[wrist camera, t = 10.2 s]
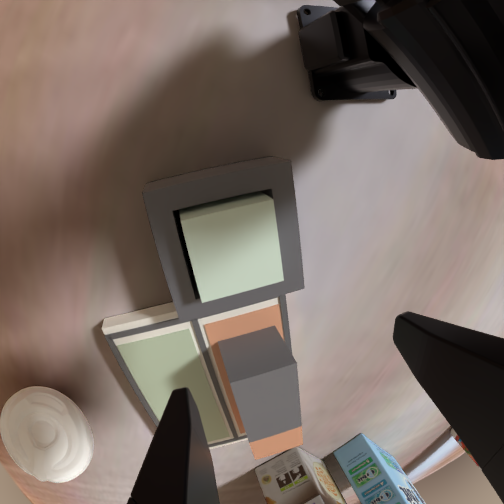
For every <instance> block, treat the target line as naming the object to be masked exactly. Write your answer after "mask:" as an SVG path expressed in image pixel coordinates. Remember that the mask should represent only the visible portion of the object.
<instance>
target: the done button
mask: <svg viewBox="0 0 504 504" xmlns="http://www.w3.org/2000/svg"><path fill="white" fill-rule="evenodd" d="M179 214H180V220H181V224H182V229H183V233H184V237H185V241H186V245H187V249H188V253H189V257H190V260H191V264H192V268H193V272H194V276H195V279H196V283H197V287H198V290H199V294H200V298H201V301H202V303H204V302H208V301H211V300H215V299H219V298H223V297H227V296H230V295H234V294H238V293H241V292H245V291H249V290H252V289H256V288H260V287H263V286H267V285H270V284H274V283H278V282H281V281H284V277H283V269H282V261H281V253H280V245H279V237H278V230H277V222H276V215H275V208H274V200H273V199H272V198H270V197H269V196H267V195H266V194H264V193H263V192H261V191H257V192H252V193H247V194H243V195H238V196H233V197H229V198H224V199H220V200H216V201H211V202H207V203H203V204H199V205H194V206H190V207H186V208H182V209H179Z"/></svg>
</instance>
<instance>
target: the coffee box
mask: <svg viewBox="0 0 504 504" xmlns="http://www.w3.org/2000/svg"><path fill="white" fill-rule="evenodd" d="M255 472H256V475H257V478H258V481H259V484H260V487H261V489H262V492H263V495H264V497H265V500H266V502H267V504H347V503H346V501H345V499H344V498H343V496H342V494H341V492H340V491H339V489H338V487H337V485H336V483H335V481H334V480H333V478H332V476H331V474H330V472H329V470H328V469H327V467H326V465H325V463H324V461H322V460H320V459H318V458H317V457H315V456H313V455H311V454H309V453H307V452H306V451H304V450H302V449H300V448H298V447H294V448H292V449H290V450H288V451H287V452H285V453H283V454H281V455H280V456H278V457H276V458H274V459H272V460H270V461H269V462H267V463H265V464H263V465H261V466H259V467H257V468H256V469H255Z"/></svg>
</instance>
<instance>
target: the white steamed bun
mask: <svg viewBox="0 0 504 504" xmlns="http://www.w3.org/2000/svg"><path fill="white" fill-rule="evenodd" d="M0 433H1V437H2V441H3V443H4V446H5V448H6V450H7V452H8V453H9V455H10V456H11V458H12V459H13V460H14V462H15V463H16V464H17V465H18V466H19V467H20V468H21V469H22V470H23V471H25V472H26V473H28V474H30V475H32V476H34V477H35V478H36V479H38V480H40V481H47V480H48V481H50V482H53V483H62V482H67V481H70V480H72V479H74V478H76V477H77V476H79V475H80V474H81V473H83V472H84V470H85V469H86V468H87V467H88V465H89V463H90V461H91V459H92V456H93V451H94V439H93V434H92V431H91V428H90V425H89V423H88V421H87V419H86V417H85V416H84V414H83V412H82V411H81V410H80V408H79V407H78V406H77V405H76V404H75V403H74V402H73V401H72V400H71V399H69V398H68V397H67V396H65V395H64V394H62V393H61V392H59V391H57V390H54V389H52V388H48V387H42V386H33V387H27V388H24V389H22V390H20V391H18V392H16V393H15V394H14V395H12V396H11V397H10V398H9V399H8V400H7V402H6V403H5V405H4V407H3V409H2V412H1V416H0Z"/></svg>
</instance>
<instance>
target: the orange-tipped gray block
mask: <svg viewBox="0 0 504 504" xmlns="http://www.w3.org/2000/svg"><path fill="white" fill-rule="evenodd" d="M218 345H219V349H220V352H221V356H222V359H223V362H224V366H225V369H226V372H227V376H228V379H229V382H230V385H231V389H232V392H233V395H234V398H235V401H236V404H237V407H238V410H239V414H240V417H241V420H242V423H243V426H244V429H245V432H246V435H247V437H248V440H249V443H250V446H251V449H252V452H253V455H254V458H255V460H256V459H260V458H263V457H267V456H270V455H273V454H276V453H279V452H282V451H285V450H288V449H291V448H294V447H297V446H300V445H303V438H302V423H301V409H300V396H299V384H298V372H297V362H296V361H295V359H294V357H293V356H292V354H291V352H290V351H289V349H288V347H287V345H286V344H285V342H284V340H283V339H282V337H281V335H280V333H279V332H278V330H277V328H276V327H275V325H274V326H271V327H268V328H264V329H261V330H257V331H254V332H250V333H247V334H243V335H240V336H236V337H232V338H229V339H225V340H221V341H218Z"/></svg>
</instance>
